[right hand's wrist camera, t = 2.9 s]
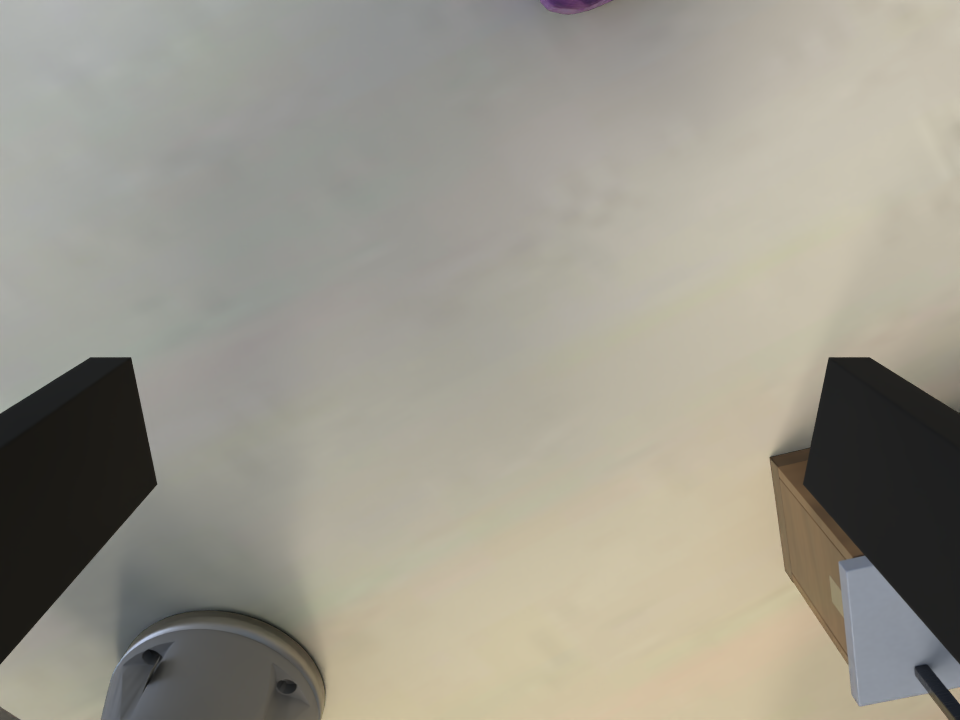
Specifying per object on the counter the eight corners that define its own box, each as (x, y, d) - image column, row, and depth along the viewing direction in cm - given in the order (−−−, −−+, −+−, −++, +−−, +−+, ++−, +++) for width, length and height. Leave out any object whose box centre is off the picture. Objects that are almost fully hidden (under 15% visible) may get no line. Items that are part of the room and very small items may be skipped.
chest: (785, 570, 45) (864, 691, 36) (769, 457, 42) (852, 556, 32) (1007, 522, 44) (1151, 634, 34) (1009, 401, 40) (1168, 488, 31)
